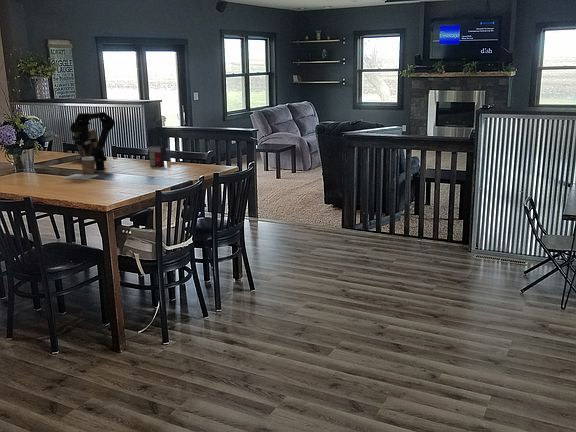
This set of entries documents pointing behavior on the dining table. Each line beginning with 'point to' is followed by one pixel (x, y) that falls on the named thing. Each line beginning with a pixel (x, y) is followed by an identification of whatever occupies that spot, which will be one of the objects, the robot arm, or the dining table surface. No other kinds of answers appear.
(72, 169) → the dining table surface
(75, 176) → the mat
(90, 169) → the walnut block
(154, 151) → the red and grey box
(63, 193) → the dining table surface
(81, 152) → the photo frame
